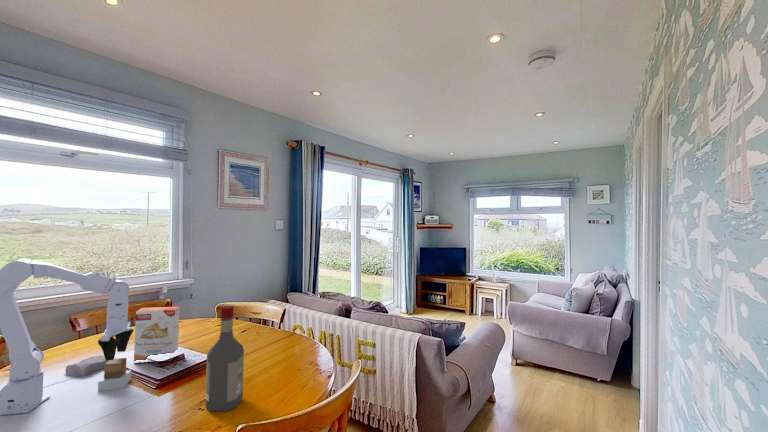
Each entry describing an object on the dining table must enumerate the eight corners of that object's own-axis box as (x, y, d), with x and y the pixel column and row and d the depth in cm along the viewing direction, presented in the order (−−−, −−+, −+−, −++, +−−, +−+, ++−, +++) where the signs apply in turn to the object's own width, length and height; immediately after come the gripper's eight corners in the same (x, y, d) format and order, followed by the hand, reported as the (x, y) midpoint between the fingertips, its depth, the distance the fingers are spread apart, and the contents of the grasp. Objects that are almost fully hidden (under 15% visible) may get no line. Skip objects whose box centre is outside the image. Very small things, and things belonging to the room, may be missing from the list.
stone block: (61, 380, 123) (84, 377, 122) (60, 366, 124) (83, 363, 122) (94, 367, 135) (115, 365, 133) (93, 355, 135) (114, 352, 134)
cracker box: (133, 364, 133) (134, 311, 133) (139, 358, 139) (141, 307, 139) (173, 361, 137) (175, 309, 137) (178, 355, 142) (179, 305, 143)
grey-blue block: (123, 389, 114) (123, 378, 115) (97, 392, 112) (98, 381, 112) (130, 380, 121) (131, 370, 121) (106, 382, 119) (107, 372, 119)
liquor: (244, 396, 110) (247, 303, 111) (233, 412, 101) (236, 311, 102) (216, 396, 110) (219, 303, 111) (202, 412, 101) (205, 310, 102)
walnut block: (119, 377, 115) (120, 362, 115) (104, 379, 114) (104, 364, 114) (125, 372, 119) (126, 357, 120) (110, 373, 118) (111, 358, 118)
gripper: (119, 321, 111) (118, 363, 111) (140, 309, 125) (139, 347, 125) (94, 321, 109) (92, 364, 109) (118, 310, 123) (116, 348, 123)
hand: (115, 355), depth 117 cm, fingers open, 7 cm apart
